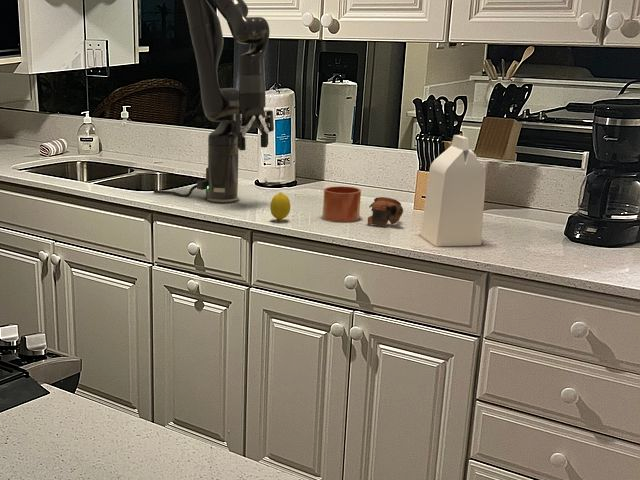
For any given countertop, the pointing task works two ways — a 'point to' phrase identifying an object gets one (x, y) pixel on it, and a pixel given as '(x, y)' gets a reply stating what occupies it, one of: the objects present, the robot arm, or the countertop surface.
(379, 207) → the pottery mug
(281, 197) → the lemon
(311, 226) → the countertop surface
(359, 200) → the crock
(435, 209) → the milk
